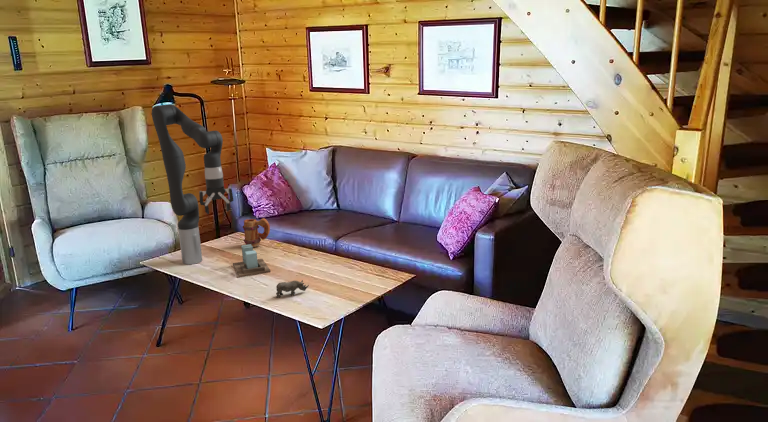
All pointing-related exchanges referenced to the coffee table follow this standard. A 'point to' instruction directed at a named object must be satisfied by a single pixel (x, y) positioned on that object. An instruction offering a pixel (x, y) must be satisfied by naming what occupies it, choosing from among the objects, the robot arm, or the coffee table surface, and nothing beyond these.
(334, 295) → the coffee table surface
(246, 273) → the walnut board
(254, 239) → the mug
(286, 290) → the rhino figurine
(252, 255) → the teal block
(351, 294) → the coffee table surface
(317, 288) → the coffee table surface
